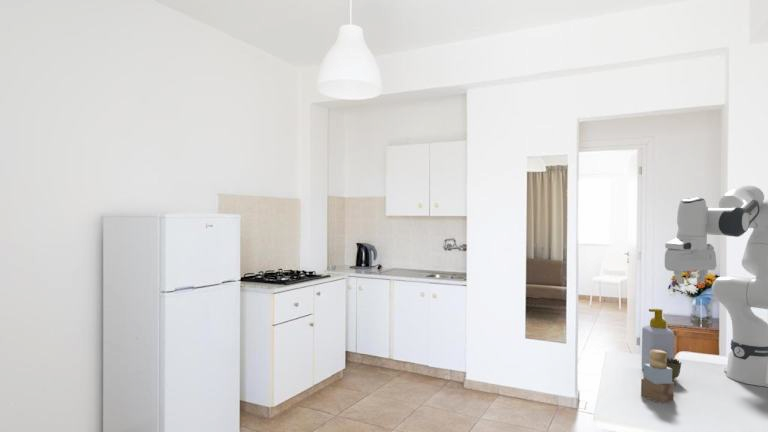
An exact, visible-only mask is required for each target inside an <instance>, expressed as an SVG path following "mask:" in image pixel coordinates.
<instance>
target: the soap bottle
mask: <svg viewBox="0 0 768 432" xmlns="http://www.w3.org/2000/svg"><path fill="white" fill-rule="evenodd" d="M648 312H650V313H654V317H652V318H651V319H650V320H649V325H645V326H642V328H641V369H642V370H644V364H650V350H661V351H665V352H666V353H667V358H669V359H670V360H671V358H672V359H673V360H674V359H675V332H674V331H673V330H672V329H670V328H668V327H667V321H666V320H665V319H663V309H661V308H648Z"/></svg>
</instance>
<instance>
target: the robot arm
mask: <svg viewBox="0 0 768 432" xmlns="http://www.w3.org/2000/svg"><path fill="white" fill-rule="evenodd" d="M677 208H678V209H677V217H676V221H677V229H678V230H677V232H676V233H677V234H676V237H675V238H674V239H672V240H669V241H667V242H666V243H664V244H665V249H666V250H665V253H664V268H665V270H666V271H670V272H673V275H674V276H675V279H676V284H678V285H679V284H680V285H682V284H683V285H684V284H685V278H683V272H689V271H691V272H692V271H698V272H699V274H698V276H697V277H696V282H697V284H698V283H699V284H703V283H705V279H706V276H707V274H708V271H713V270H715V269H716V268H717V257H716V255H717V254H716V251H715V248H714V246H713V245H712V244H711V243H707V242H708V235H712V236H728V237H737V238H738V237H739V238H740V237H741V236H743V235H744V234H745V233H747V231H748V230H749V229H752V232H751V234H750V236H749V238H748V240H747V242H746V245H745V248H744V253H743V256H742V259H741V265H742V267H743V269H744V270H745V271H746V272H747V273H749V274H751V275H753V276H755V277H754V278H749V277H741V276H734V275H733V276H731V275H730V276H719V277H717V278H716V279H715V280H714V281H713V282H712V284H711V293H712V296H713V297H714V298H715V299H716V300H717V301H719V302H720V303H721V304H722V305H723V307H724V308H725V309H726V310H727V313H728V314H729V318H730V319H731V326H732V329H731V330H732V339H731V342H730V349H731V351H729V352H728V357H727V364H726V368H724V370H723V372H724V373H726V376H727V377H728V378H729V379H731V380H734V381H736V382H739V383H743V384H748V385H753V386H759V387H767V388H768V322H766V320H765V319H763V318H761V317H760V316H758V315H756V314H755V313H754V311H753V310H752V308H755V309H756V308H757V309H761V310H763V309H764V310H768V199H765V195H764V192H763V190H761V188H759V187H757V186H755V185H743V186H740V187H739V186H738V187H736V188H733V189H731V190H729V191H728V192H725V193H724V194H723V195H722V196H721V197H720V199H719V202H718V207H708V206H707V201H706V198H702V197H691V198H684V199H682V200H680V201H679V204H678V207H677Z"/></svg>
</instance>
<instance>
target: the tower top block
mask: <svg viewBox="0 0 768 432" xmlns="http://www.w3.org/2000/svg"><path fill="white" fill-rule="evenodd" d="M643 378H644V379H646V380H648V381H650V382H652V383H655V384H657V385H659V384H671V383H672V368H669V367H667V368H666V369H658V368H654V367H651V366H650V364H644V369H643ZM643 378H642V379H643Z"/></svg>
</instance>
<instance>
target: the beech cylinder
mask: <svg viewBox="0 0 768 432" xmlns="http://www.w3.org/2000/svg"><path fill="white" fill-rule="evenodd" d="M650 366H651V367H654V368H658V369H666V368H667V353H666V352H665V351H661V350H650Z"/></svg>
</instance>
